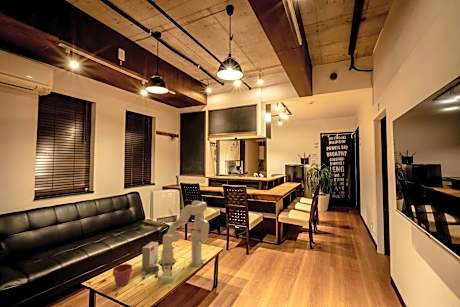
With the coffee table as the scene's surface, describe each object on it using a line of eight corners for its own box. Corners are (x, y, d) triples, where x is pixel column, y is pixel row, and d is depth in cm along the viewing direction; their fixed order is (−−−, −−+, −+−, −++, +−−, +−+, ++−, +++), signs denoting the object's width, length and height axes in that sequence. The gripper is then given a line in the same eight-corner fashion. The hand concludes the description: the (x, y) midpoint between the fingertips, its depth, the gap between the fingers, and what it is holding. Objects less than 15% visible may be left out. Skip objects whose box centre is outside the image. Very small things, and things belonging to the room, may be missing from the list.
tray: (173, 274, 191) (173, 271, 191) (172, 281, 180) (173, 278, 180) (161, 276, 189) (161, 272, 189) (160, 283, 178) (160, 279, 178)
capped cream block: (170, 271, 189) (170, 261, 189) (170, 275, 182) (170, 265, 182) (164, 271, 188) (164, 261, 188) (163, 276, 180) (163, 266, 180)
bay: (158, 271, 198) (158, 265, 198) (157, 277, 187) (157, 271, 187) (145, 272, 195) (145, 267, 195) (143, 279, 185) (143, 273, 185)
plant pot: (127, 277, 188) (127, 261, 188) (135, 282, 179) (135, 267, 179) (109, 284, 177) (109, 268, 177) (117, 291, 168) (117, 274, 168)
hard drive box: (149, 270, 199) (149, 248, 199) (141, 269, 200) (141, 247, 201) (158, 262, 214) (158, 242, 215) (151, 261, 216) (151, 241, 216)
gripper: (177, 246, 191) (177, 267, 190) (157, 248, 187) (156, 269, 187) (177, 250, 184) (177, 272, 183) (156, 251, 180) (156, 274, 179)
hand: (167, 270), depth 185 cm, fingers closed on capped cream block, 5 cm apart
